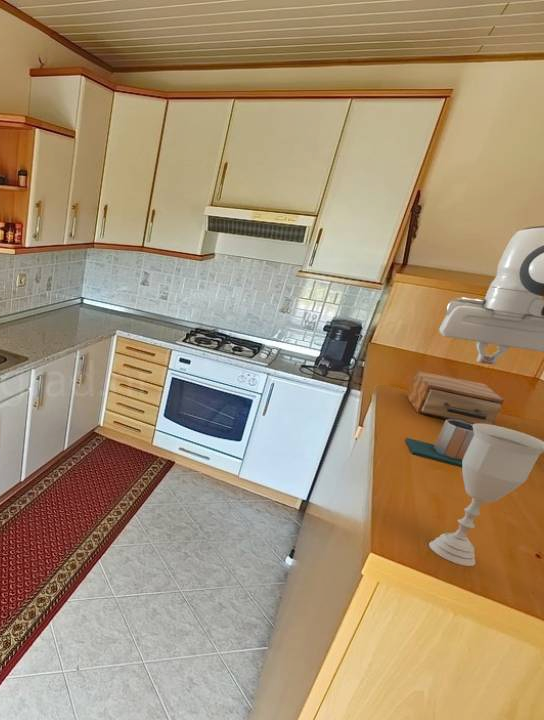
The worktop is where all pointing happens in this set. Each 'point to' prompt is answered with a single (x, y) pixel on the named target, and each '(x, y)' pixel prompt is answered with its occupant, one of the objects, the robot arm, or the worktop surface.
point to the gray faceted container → (454, 439)
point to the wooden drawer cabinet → (458, 386)
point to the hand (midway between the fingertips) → (485, 363)
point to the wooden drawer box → (461, 407)
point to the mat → (429, 452)
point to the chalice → (488, 481)
